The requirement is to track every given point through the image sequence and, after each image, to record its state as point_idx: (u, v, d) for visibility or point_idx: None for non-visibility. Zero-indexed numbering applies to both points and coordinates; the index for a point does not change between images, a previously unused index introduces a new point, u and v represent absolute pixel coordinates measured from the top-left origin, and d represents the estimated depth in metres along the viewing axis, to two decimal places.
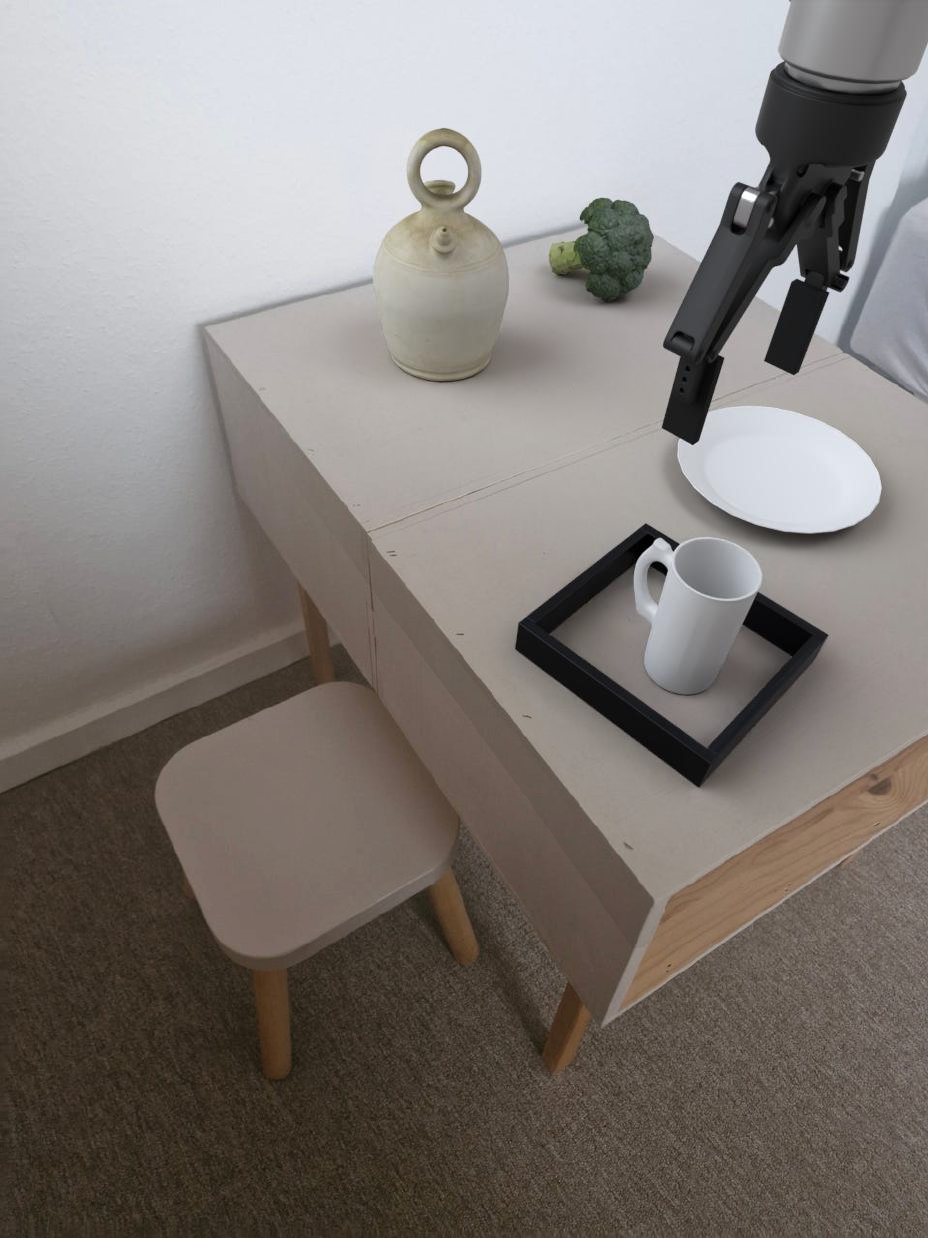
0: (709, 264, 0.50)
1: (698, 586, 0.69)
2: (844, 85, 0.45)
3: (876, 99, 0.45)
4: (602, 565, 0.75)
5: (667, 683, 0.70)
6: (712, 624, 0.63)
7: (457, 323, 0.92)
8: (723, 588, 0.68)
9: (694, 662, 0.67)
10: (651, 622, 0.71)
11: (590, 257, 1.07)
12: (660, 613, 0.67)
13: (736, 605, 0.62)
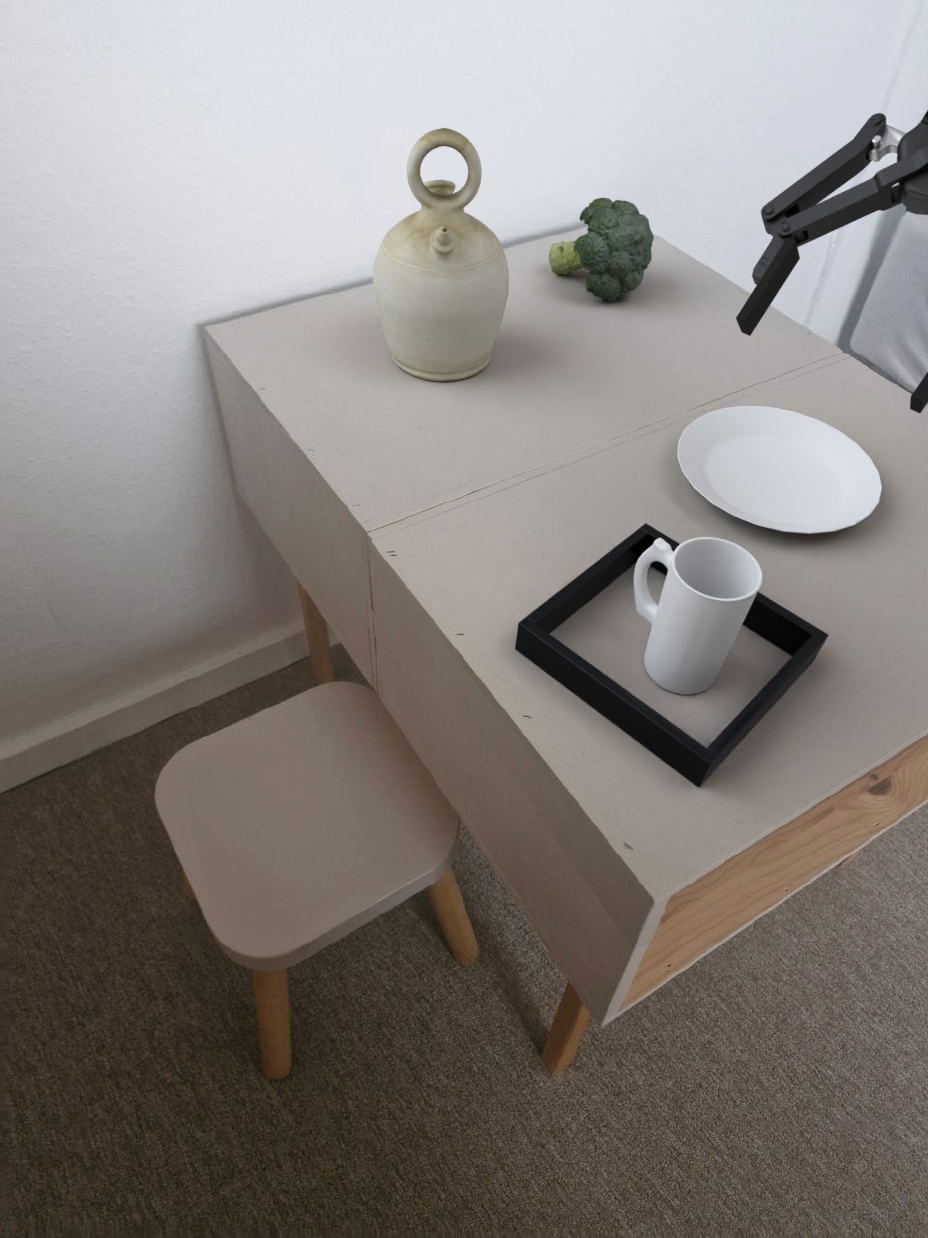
0: None
1: (698, 586, 0.69)
2: None
3: None
4: (602, 565, 0.75)
5: (667, 683, 0.70)
6: (712, 624, 0.63)
7: (457, 323, 0.92)
8: (723, 588, 0.68)
9: (694, 662, 0.67)
10: (651, 622, 0.71)
11: (590, 257, 1.07)
12: (660, 613, 0.67)
13: (736, 605, 0.62)
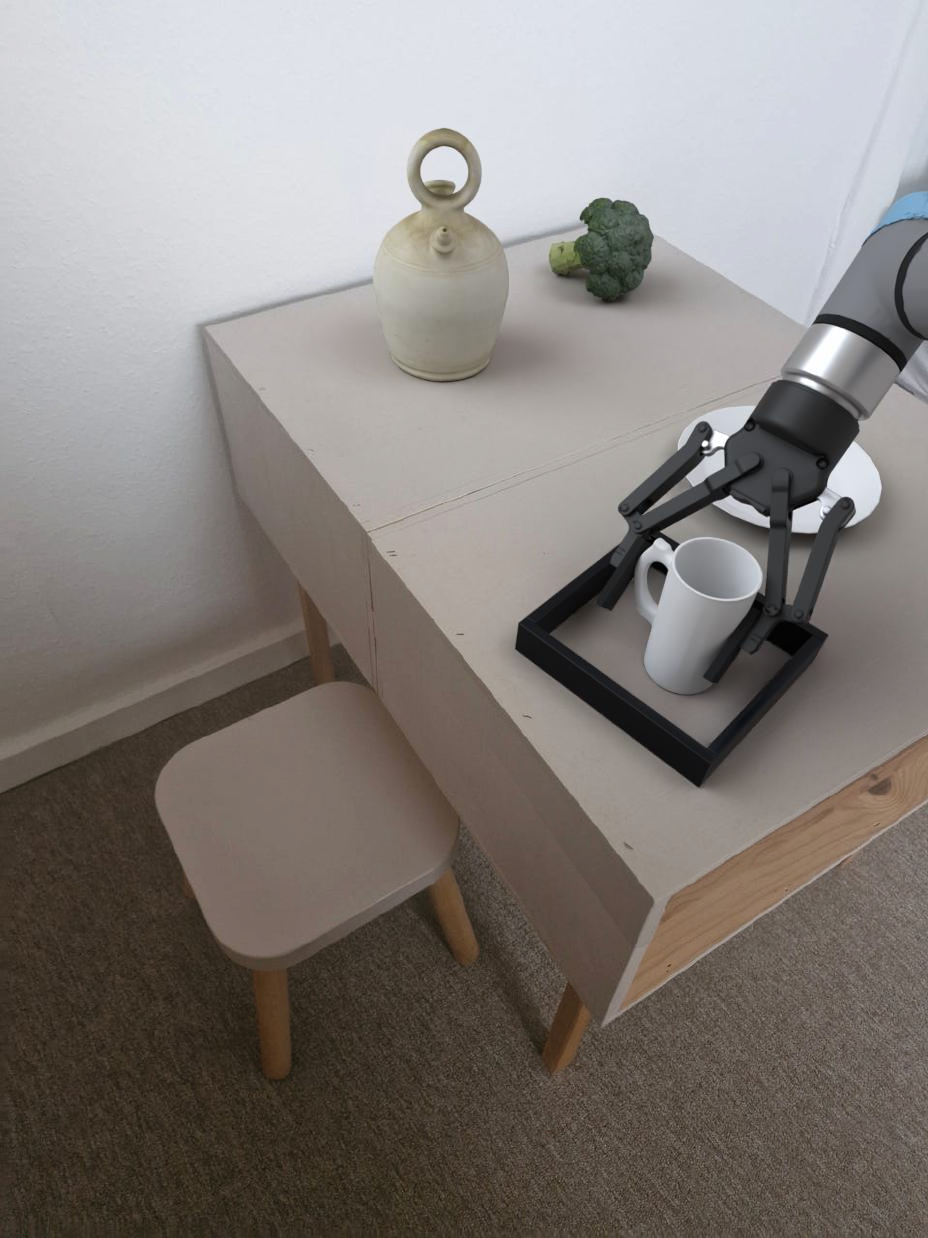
0: None
1: (698, 586, 0.69)
2: (786, 377, 0.64)
3: (792, 381, 0.63)
4: (602, 565, 0.75)
5: (667, 683, 0.70)
6: (712, 624, 0.63)
7: (457, 323, 0.92)
8: (723, 588, 0.68)
9: (694, 662, 0.67)
10: (651, 622, 0.71)
11: (590, 257, 1.07)
12: (660, 613, 0.67)
13: (736, 605, 0.62)
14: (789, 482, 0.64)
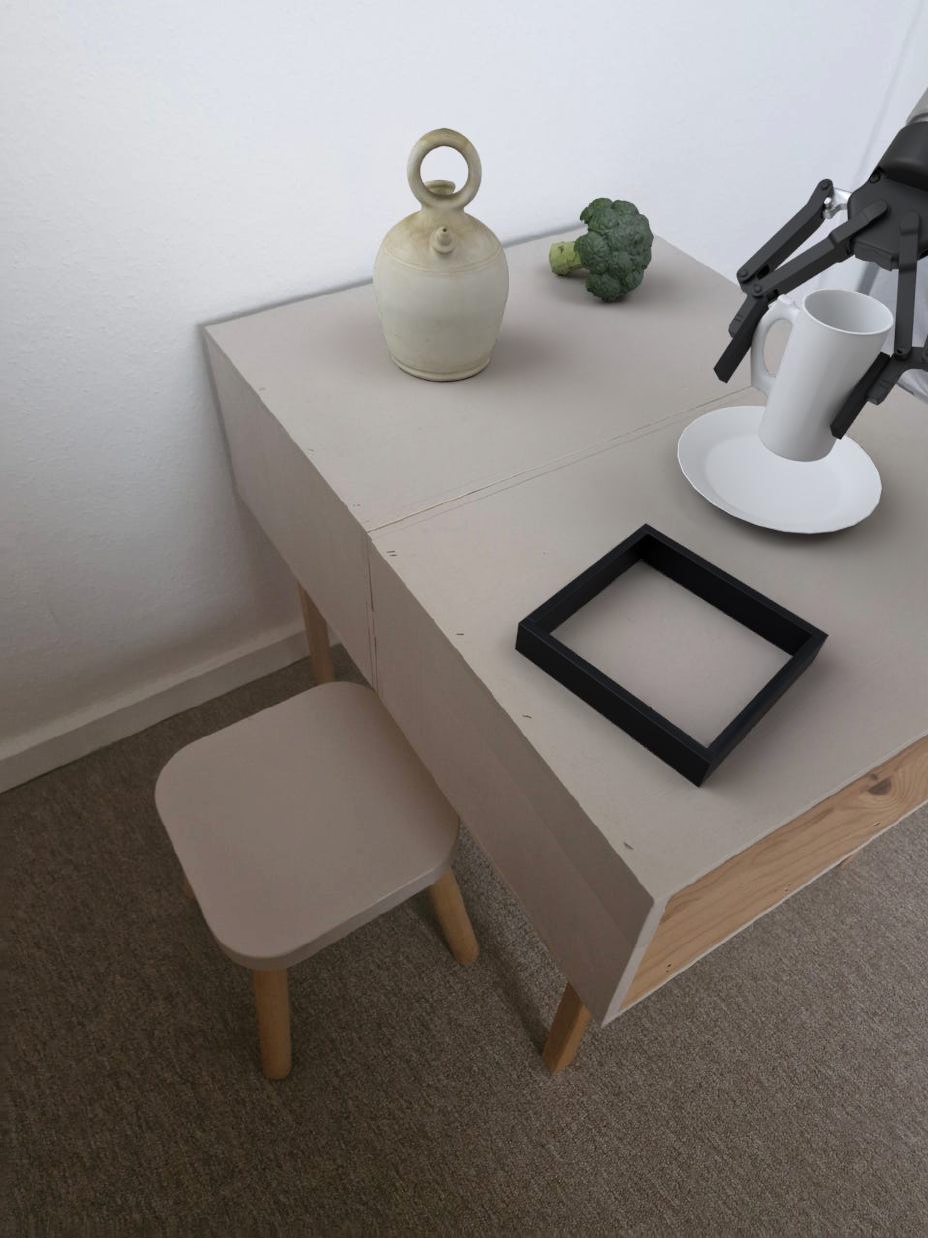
0: None
1: None
2: None
3: (923, 121, 0.63)
4: (602, 565, 0.75)
5: (786, 448, 0.70)
6: (843, 365, 0.64)
7: (457, 323, 0.92)
8: None
9: (818, 417, 0.67)
10: (767, 393, 0.72)
11: (590, 257, 1.07)
12: (785, 368, 0.67)
13: (870, 341, 0.62)
14: (919, 225, 0.64)
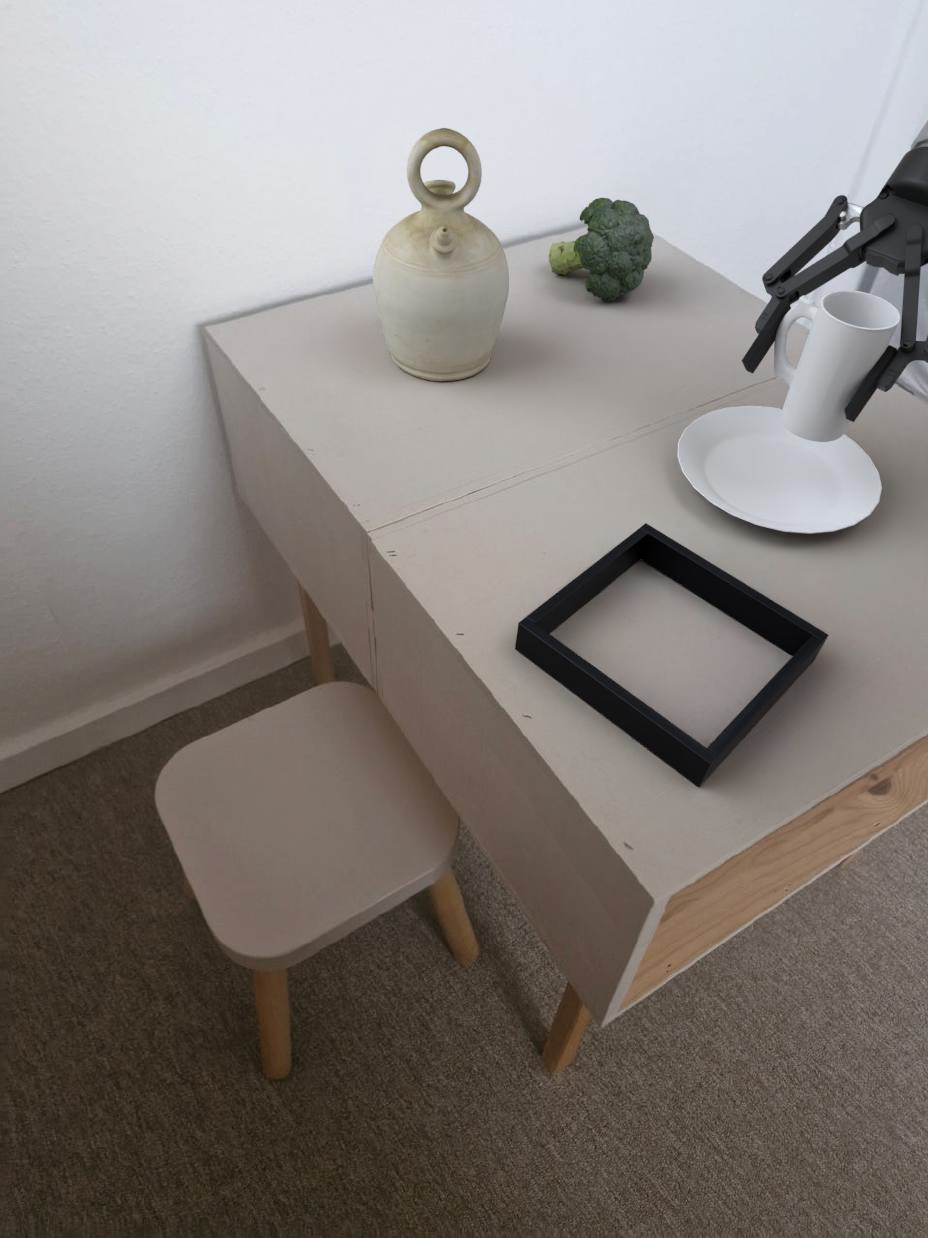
0: None
1: None
2: None
3: (926, 146, 0.73)
4: (602, 565, 0.75)
5: (806, 430, 0.80)
6: (856, 356, 0.74)
7: (457, 323, 0.92)
8: None
9: (834, 402, 0.77)
10: (789, 382, 0.82)
11: (590, 257, 1.07)
12: (805, 360, 0.77)
13: (880, 335, 0.72)
14: (922, 236, 0.74)
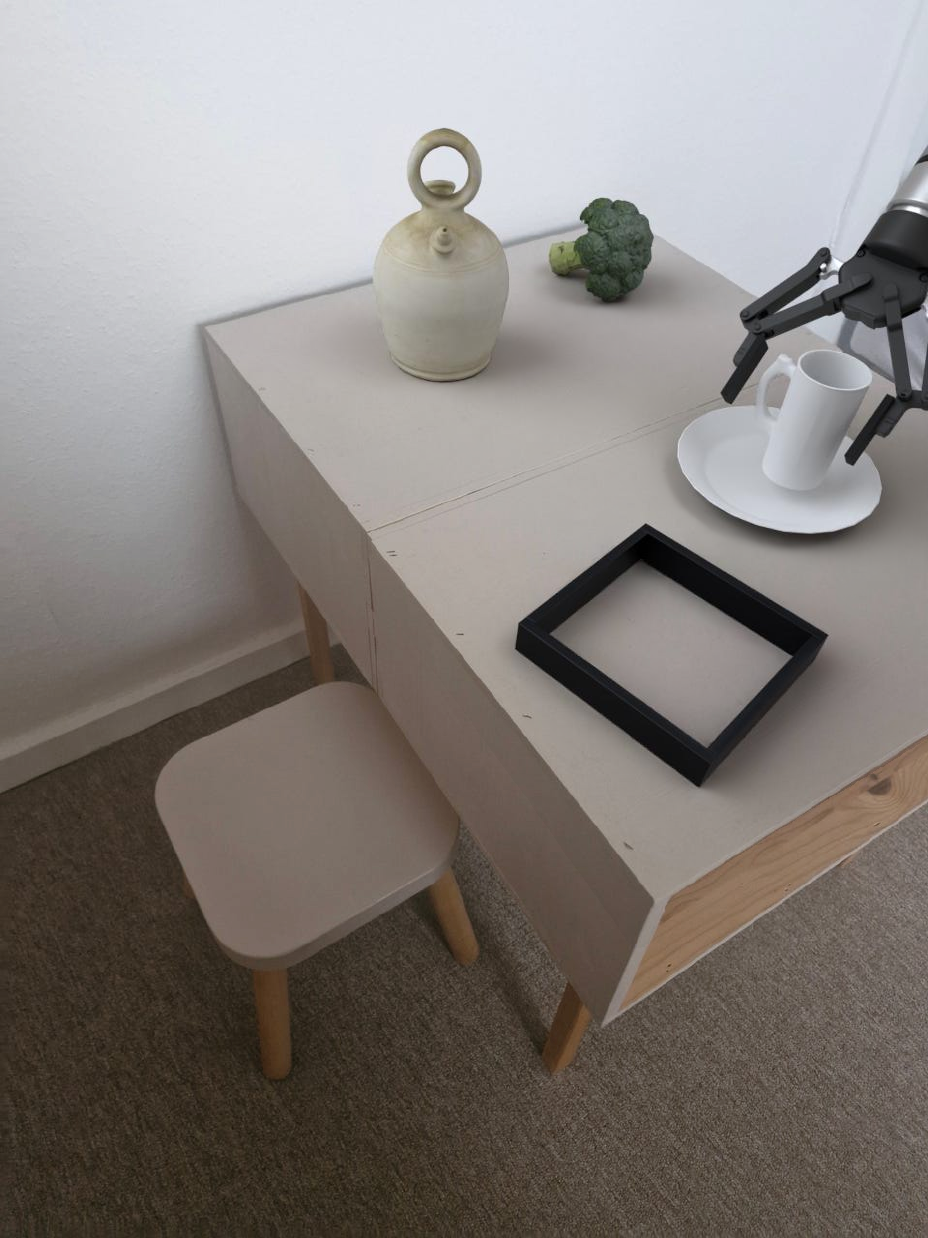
0: None
1: None
2: (892, 210, 0.79)
3: (900, 209, 0.77)
4: (602, 565, 0.75)
5: (785, 479, 0.85)
6: (831, 414, 0.78)
7: (457, 323, 0.92)
8: None
9: (811, 454, 0.82)
10: (769, 432, 0.86)
11: (590, 257, 1.07)
12: (784, 415, 0.82)
13: (853, 395, 0.77)
14: (897, 292, 0.78)
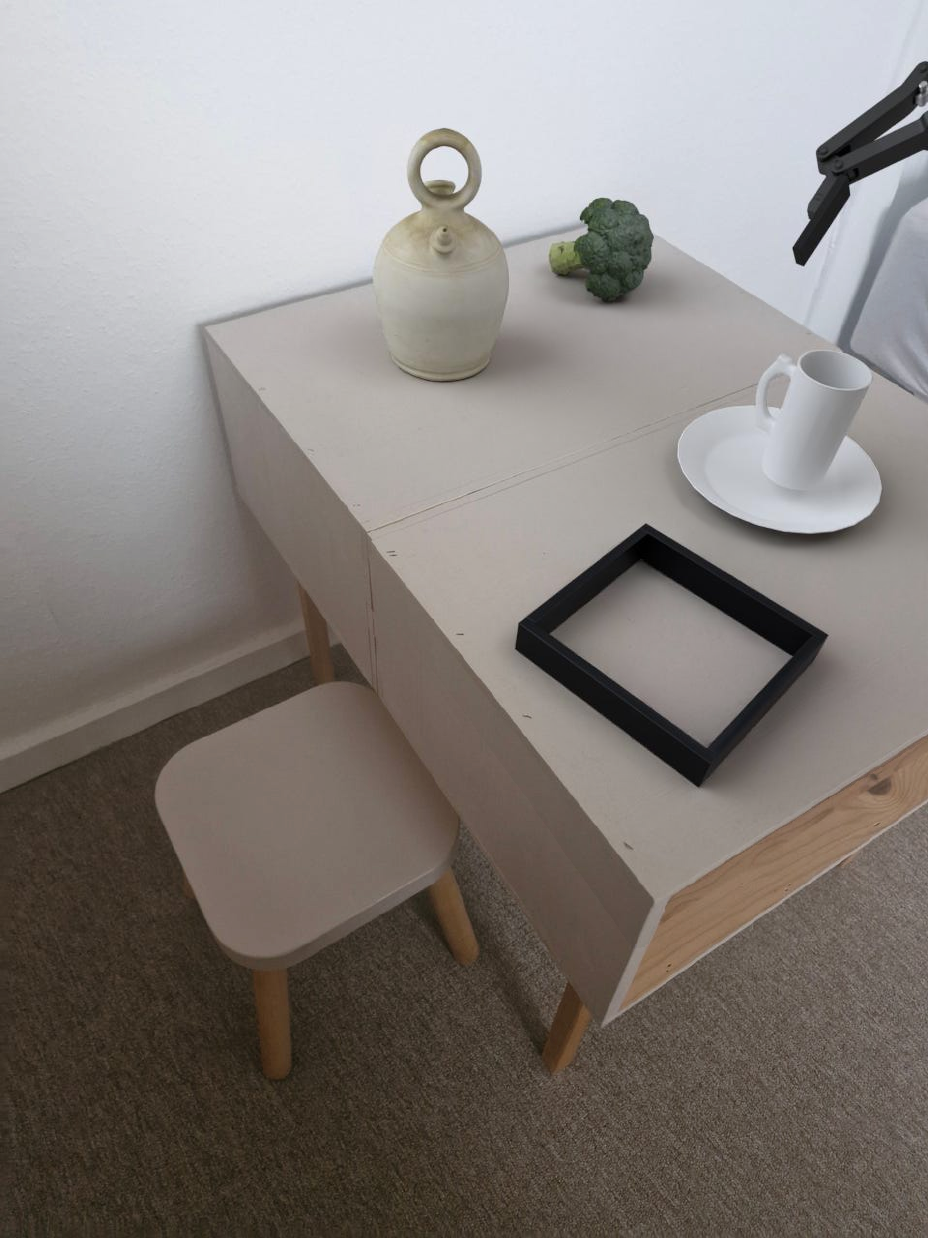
0: None
1: None
2: None
3: None
4: (602, 565, 0.75)
5: (785, 479, 0.85)
6: (831, 414, 0.78)
7: (457, 323, 0.92)
8: None
9: (811, 454, 0.82)
10: (769, 432, 0.86)
11: (590, 257, 1.07)
12: (784, 415, 0.82)
13: (853, 395, 0.77)
14: None
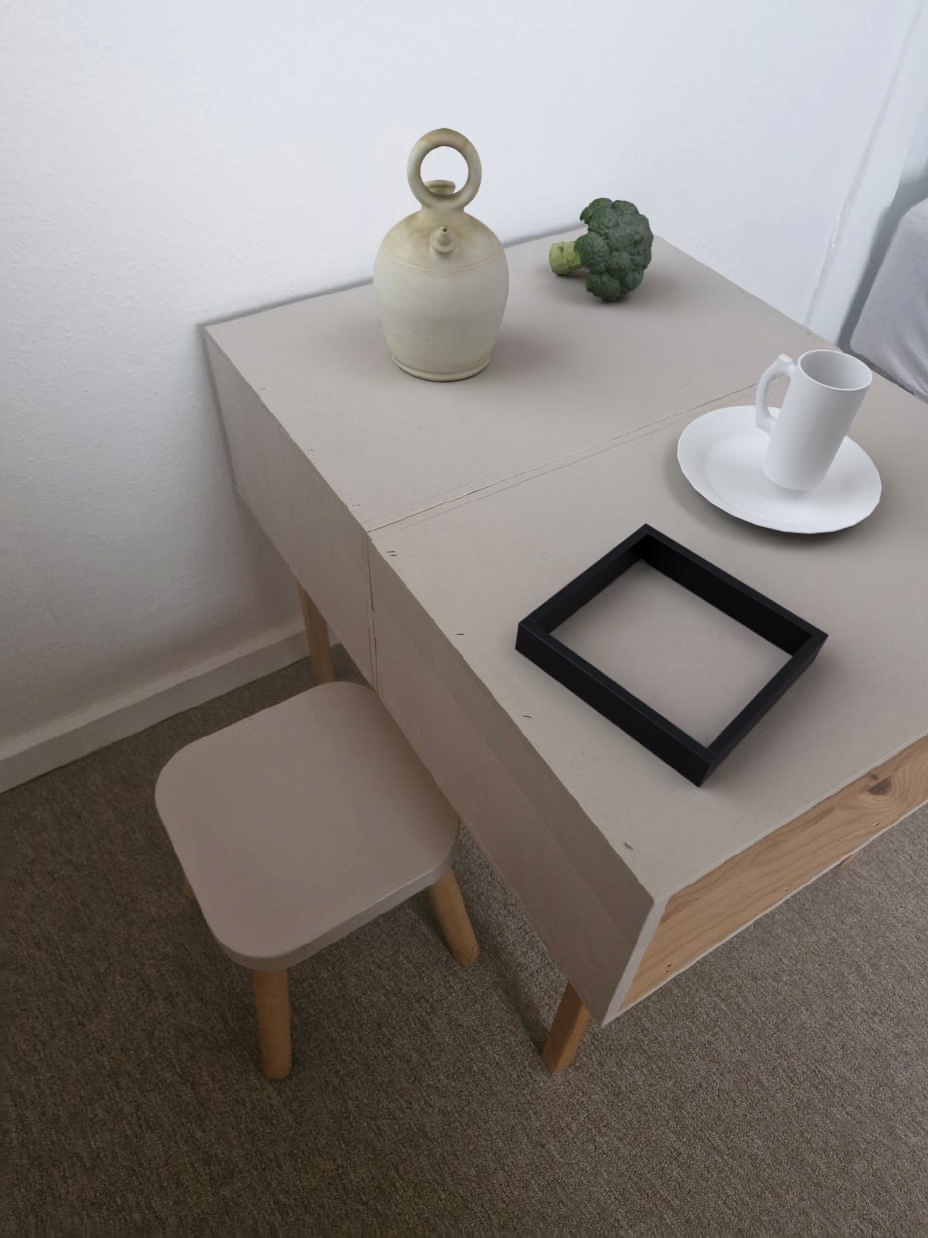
0: None
1: None
2: None
3: None
4: (602, 565, 0.75)
5: (785, 479, 0.85)
6: (831, 414, 0.78)
7: (457, 323, 0.92)
8: None
9: (811, 454, 0.82)
10: (769, 432, 0.86)
11: (590, 257, 1.07)
12: (784, 414, 0.82)
13: (853, 395, 0.77)
14: None
